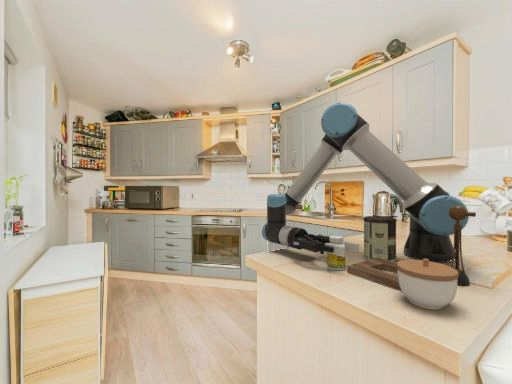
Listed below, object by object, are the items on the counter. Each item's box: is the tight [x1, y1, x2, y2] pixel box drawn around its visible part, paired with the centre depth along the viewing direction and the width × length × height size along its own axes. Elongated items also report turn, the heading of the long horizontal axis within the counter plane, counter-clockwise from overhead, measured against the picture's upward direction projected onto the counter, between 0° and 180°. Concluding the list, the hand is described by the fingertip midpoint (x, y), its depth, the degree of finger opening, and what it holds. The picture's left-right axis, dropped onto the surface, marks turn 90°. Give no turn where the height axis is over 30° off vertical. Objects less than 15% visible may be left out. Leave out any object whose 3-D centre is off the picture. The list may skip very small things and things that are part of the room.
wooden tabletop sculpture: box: [449, 205, 477, 287], centre depth 62 cm, size 6×5×20 cm
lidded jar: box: [397, 259, 458, 311], centre depth 52 cm, size 11×11×9 cm
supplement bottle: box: [326, 235, 346, 271], centre depth 75 cm, size 5×5×10 cm
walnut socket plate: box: [346, 258, 402, 292], centre depth 68 cm, size 15×15×2 cm
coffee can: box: [363, 216, 397, 262], centre depth 85 cm, size 10×10×14 cm
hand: (351, 250), depth 71 cm, fingers open, 6 cm apart
